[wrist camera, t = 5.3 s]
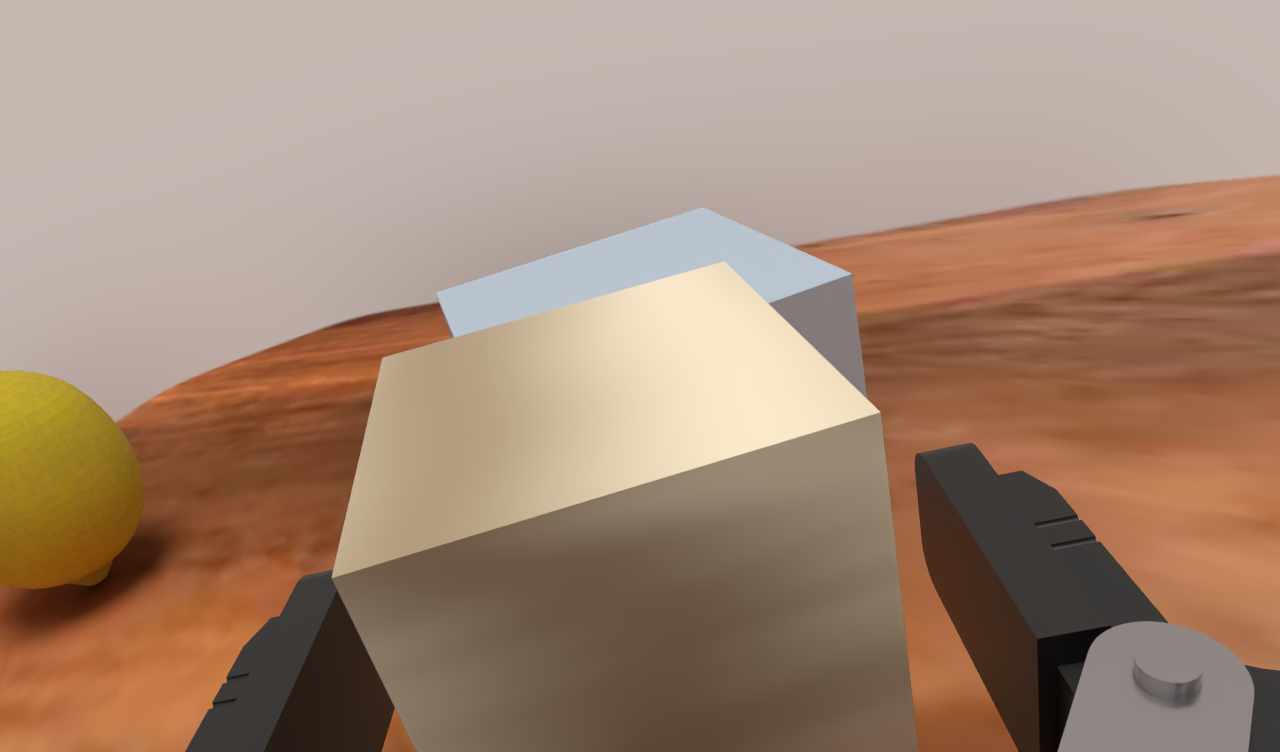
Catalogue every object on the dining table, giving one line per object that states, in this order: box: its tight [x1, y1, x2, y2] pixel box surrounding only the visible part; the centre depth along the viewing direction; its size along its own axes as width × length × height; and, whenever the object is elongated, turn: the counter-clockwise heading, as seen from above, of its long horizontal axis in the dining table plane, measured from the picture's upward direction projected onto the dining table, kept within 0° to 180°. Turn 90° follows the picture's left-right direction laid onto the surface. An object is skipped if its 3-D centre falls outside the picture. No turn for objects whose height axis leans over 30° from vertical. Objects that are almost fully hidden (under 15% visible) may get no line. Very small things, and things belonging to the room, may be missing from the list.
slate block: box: [436, 207, 867, 399], centre depth 26 cm, size 10×10×6 cm
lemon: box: [0, 371, 144, 589], centre depth 26 cm, size 6×6×8 cm
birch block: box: [332, 261, 919, 752], centre depth 12 cm, size 5×5×10 cm
